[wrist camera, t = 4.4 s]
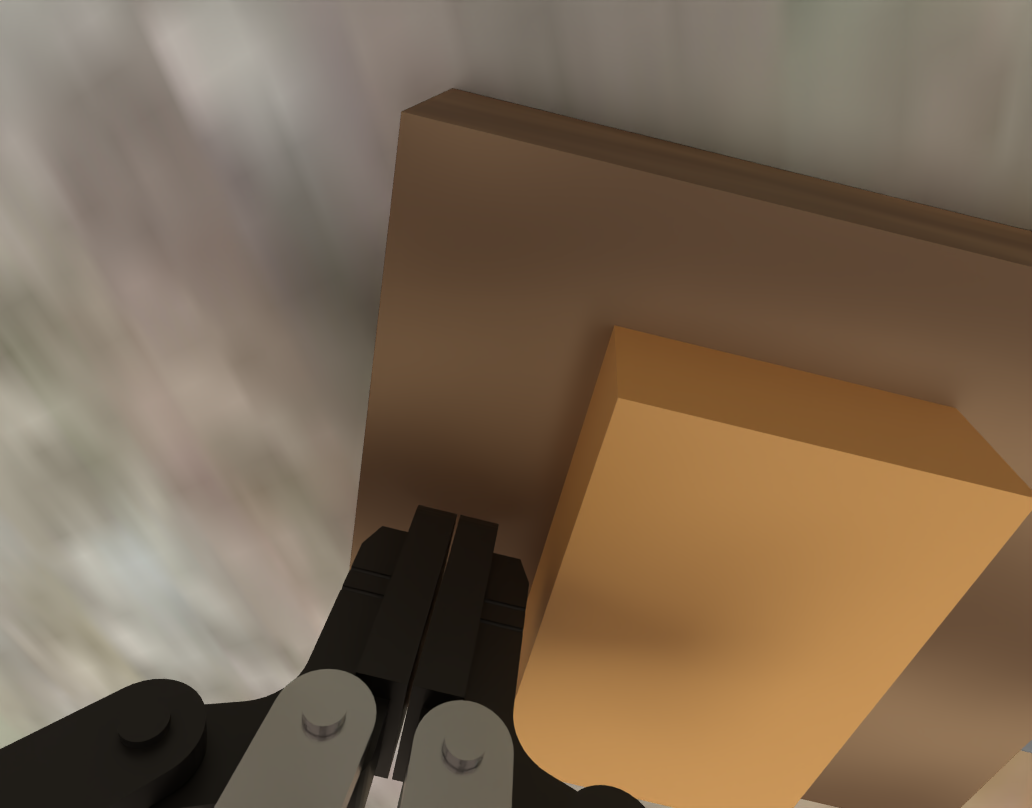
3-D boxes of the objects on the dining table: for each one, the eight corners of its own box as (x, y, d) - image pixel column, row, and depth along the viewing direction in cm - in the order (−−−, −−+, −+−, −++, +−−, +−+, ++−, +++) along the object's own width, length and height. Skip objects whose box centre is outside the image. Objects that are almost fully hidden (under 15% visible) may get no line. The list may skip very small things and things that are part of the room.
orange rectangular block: (614, 325, 11) (618, 398, 9) (956, 408, 11) (1040, 499, 9) (507, 663, 16) (492, 765, 14) (750, 721, 16) (774, 831, 14)
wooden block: (452, 88, 13) (401, 111, 10) (1214, 276, 14) (1425, 363, 10) (380, 577, 20) (335, 690, 17) (880, 695, 21) (936, 830, 17)
